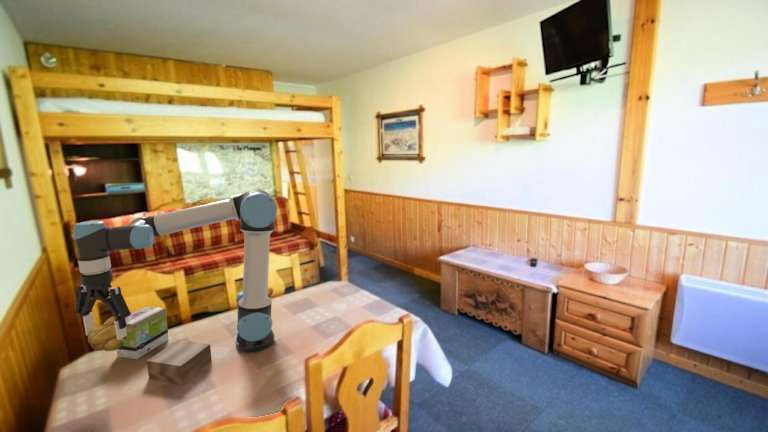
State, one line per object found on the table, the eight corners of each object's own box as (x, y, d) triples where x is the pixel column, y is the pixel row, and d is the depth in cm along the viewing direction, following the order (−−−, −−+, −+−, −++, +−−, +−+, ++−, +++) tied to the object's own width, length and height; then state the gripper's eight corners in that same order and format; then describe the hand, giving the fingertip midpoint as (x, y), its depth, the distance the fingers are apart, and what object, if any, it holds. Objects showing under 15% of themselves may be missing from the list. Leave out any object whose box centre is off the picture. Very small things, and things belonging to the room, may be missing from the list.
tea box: (138, 360, 131) (133, 324, 129) (116, 357, 133) (111, 321, 131) (169, 339, 146) (166, 307, 143) (150, 337, 148) (145, 305, 145)
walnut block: (211, 361, 131) (210, 344, 129) (183, 384, 117) (180, 366, 116) (180, 356, 133) (178, 339, 132) (148, 379, 120) (146, 360, 119)
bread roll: (131, 347, 110) (127, 324, 108) (91, 360, 103) (87, 336, 102) (124, 333, 119) (121, 311, 118) (88, 344, 112) (84, 321, 111)
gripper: (138, 269, 108) (147, 333, 111) (78, 264, 113) (89, 326, 117) (115, 277, 100) (125, 345, 104) (52, 272, 105) (64, 337, 109)
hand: (106, 335), depth 110 cm, fingers closed on bread roll, 12 cm apart
